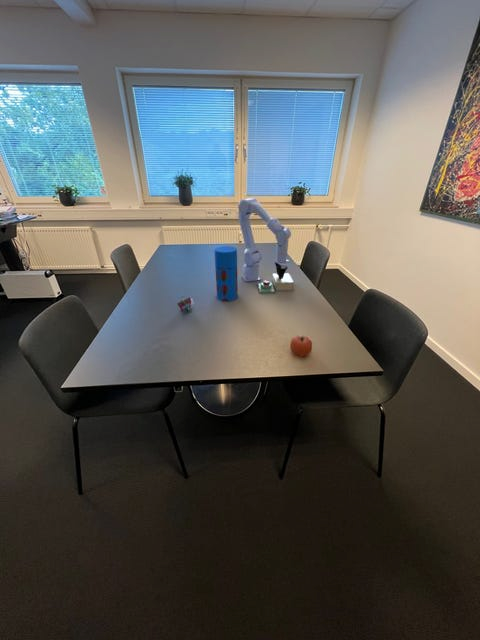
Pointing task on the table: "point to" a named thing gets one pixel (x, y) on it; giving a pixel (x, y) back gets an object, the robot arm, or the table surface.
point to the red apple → (301, 345)
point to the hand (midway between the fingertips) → (279, 276)
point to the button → (266, 282)
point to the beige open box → (283, 286)
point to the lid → (285, 279)
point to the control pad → (266, 288)
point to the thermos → (226, 272)
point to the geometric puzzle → (185, 303)
